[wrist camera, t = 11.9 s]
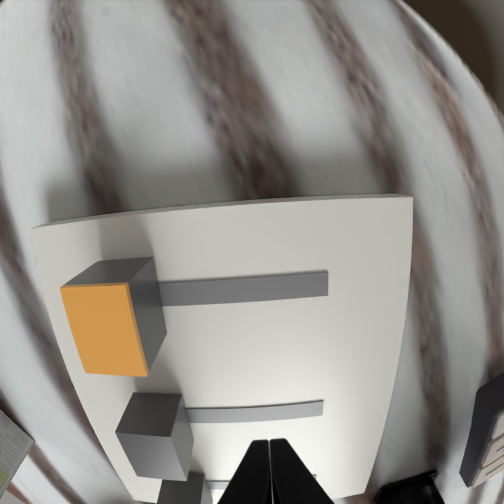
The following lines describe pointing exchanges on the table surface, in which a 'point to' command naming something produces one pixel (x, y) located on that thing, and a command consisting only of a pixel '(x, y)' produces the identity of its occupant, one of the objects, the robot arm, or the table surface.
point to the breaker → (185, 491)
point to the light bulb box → (11, 449)
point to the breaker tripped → (116, 316)
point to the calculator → (485, 435)
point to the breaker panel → (253, 326)
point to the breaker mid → (157, 436)
